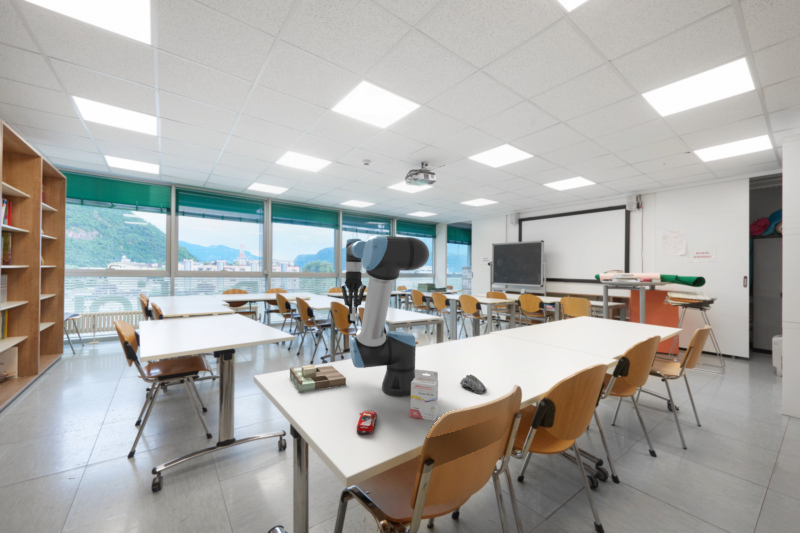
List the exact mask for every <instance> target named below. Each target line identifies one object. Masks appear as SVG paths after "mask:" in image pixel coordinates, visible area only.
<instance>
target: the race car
mask: <svg viewBox="0 0 800 533" xmlns="http://www.w3.org/2000/svg"><path fill="white" fill-rule="evenodd" d="M377 417H378V413H377V412H376V411H374V410H372V409H371V410H370V409H368V410H363V411H362V412H360V413H359V418H358V421H357V424H356V433H357V434H368V435H369V434H372V433H374V430H375V426H376V422H377V420H378V419H377Z"/></svg>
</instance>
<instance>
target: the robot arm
mask: <svg viewBox="0 0 800 533" xmlns="http://www.w3.org/2000/svg"><path fill="white" fill-rule="evenodd" d="M345 249H346V250H345V270H346V271H345V281H344V284H342V285H340V286H339V287H340V290H341V293H342V298H343V301H344V305H345V306H346V307H348V314H349V316H350V318H349V320H350V321H352V322H355V321H356V314H358V307H359V306H361V305H362V302H363V299H364V298H363V297H364V294H365V290H366V288H367V290H366V295H365V303H364V309H363V315H362V319H361V320H362V322H361V328H360V329H358V330H357V331H356V335H355V336H353V337H351V338H350V340H349V350H350V357H351V362H352V364H353V366H354V367H355V368H357V369H367V368H374V367H383V366H384V367H386V370H385V375H384V378H383V380H382V384H381V390H382V392H383V393H384V394H387V395H389V396H394V397H408V396H410V397H411V382H412V381H413V379H414V378H415V370H416V347H417V345H416V337H415V336H414V335H413V334H412V333H408V332H404V331H399V330H398V331H397V330H389V331H387V332H386V333H385V326H386V321H387V316H388V310H389V305H390V301H391V300H390V299H391V296H392V291H393V285H394V281H396V280H398V278H399V276H400V272H401V271H406V272H407V271H415V270H418V269H421V268H423V267H424V266H425V265H426V264H427V263H428V260H429V257H430V250H429V247H428V246H427V244H426V243H425V242H424V241H423V240H421V239H419V238H415V237H410V236H393V235H385V234H381V235H371V236H370V237H369V238H367V240H366V241H364V240H362V239H360V238H347V239H346V244H345ZM362 267H363V269H364V270H365V273H366V275H367V276H368V277H369V278H368V285H365V284H363V281H362V270H363V269H362ZM347 291H348V292H347Z"/></svg>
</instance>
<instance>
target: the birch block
mask: <svg viewBox="0 0 800 533" xmlns="http://www.w3.org/2000/svg"><path fill="white" fill-rule="evenodd" d="M301 369H302V374H301V375H302V376H303V377H304V378H308V377H315V376H316V366H315V365H311V364H310V365H303V366H301Z"/></svg>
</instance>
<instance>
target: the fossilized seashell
mask: <svg viewBox="0 0 800 533" xmlns="http://www.w3.org/2000/svg"><path fill="white" fill-rule="evenodd" d="M459 385H460V386H462V387H464V388H468V389H471V390H472V391H473V392H474V394H483V392H485V391H487V387H486V386H485V384H484V383H483V382H482V381H481V380H479V378H477V377H476V376H475V375H473V374H466V375H465V377H463V378H462V379H461V381H460V383H459Z"/></svg>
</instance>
